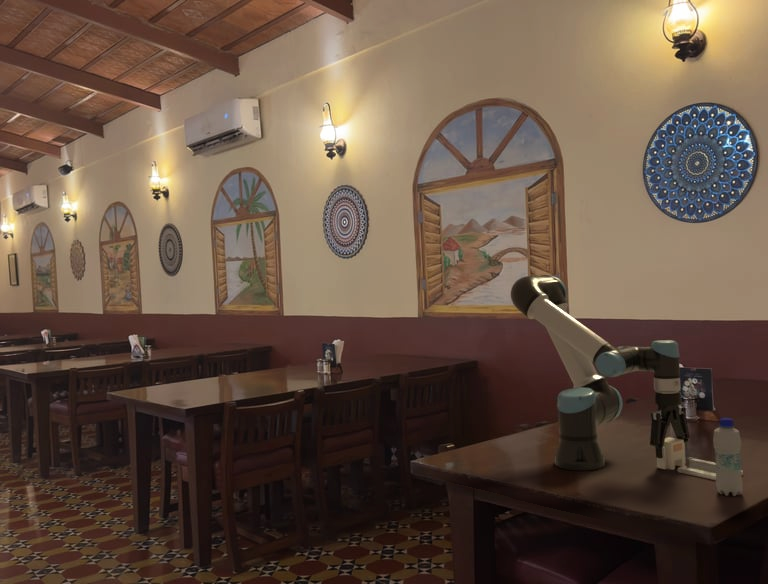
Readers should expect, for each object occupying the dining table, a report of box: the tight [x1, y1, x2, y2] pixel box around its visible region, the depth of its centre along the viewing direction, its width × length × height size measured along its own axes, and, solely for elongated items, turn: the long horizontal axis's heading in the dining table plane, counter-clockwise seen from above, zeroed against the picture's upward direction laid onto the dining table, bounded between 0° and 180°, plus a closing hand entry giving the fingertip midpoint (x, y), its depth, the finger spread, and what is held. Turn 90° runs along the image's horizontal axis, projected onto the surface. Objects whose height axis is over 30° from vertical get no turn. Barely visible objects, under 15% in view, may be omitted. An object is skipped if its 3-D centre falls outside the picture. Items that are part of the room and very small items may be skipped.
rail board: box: [677, 456, 744, 481], centre depth 202 cm, size 10×14×3 cm
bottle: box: [712, 417, 744, 497], centre depth 183 cm, size 7×7×20 cm
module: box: [663, 436, 686, 470], centre depth 211 cm, size 6×5×8 cm
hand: (671, 465), depth 211 cm, fingers open, 9 cm apart
